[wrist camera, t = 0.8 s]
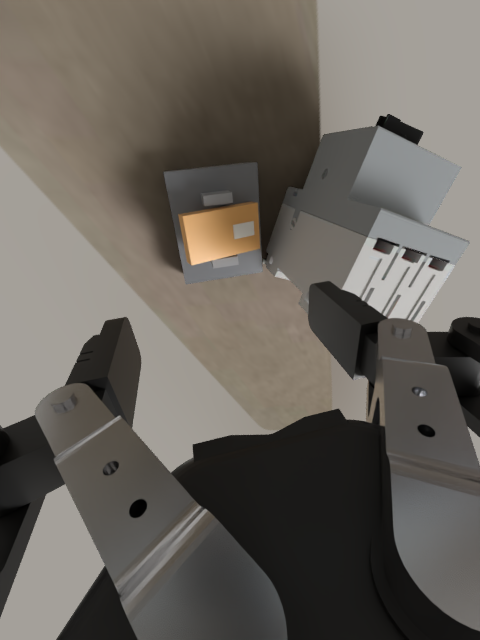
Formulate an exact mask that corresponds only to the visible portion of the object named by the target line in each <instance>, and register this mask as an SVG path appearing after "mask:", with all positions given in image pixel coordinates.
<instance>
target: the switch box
mask: <svg viewBox="0 0 480 640" xmlns="http://www.w3.org/2000/svg"><path fill="white" fill-rule="evenodd" d="M163 173H164V178H165V183H166V188H167V193H168V198H169V203H170V208H171V213H172V218H173V223H174V228H175V233H176V238H177V243H178V248H179V253H180V258H181V263H182V268H183V273H184V278H185V283H186V284H191V283H197V282H203V281H210V280H216V279H222V278H228V277H234V276H241V275H247V274H253V273H259V272H263V269H262V248H261V228H260V207H259V186H258V166H257V162H246V163H236V164H227V165H217V166H208V167H198V168H189V169H179V170H170V171H164V172H163ZM246 202H256V203H258V216H259V235H260V249H256V250H252V251H248V252H244V253H240V254H236V255H232V256H228V257H224V258H220V259H216V260H212V261H208V262H204V263H200V264H196V265H190V264H189V263H188V262H187V259H186V254H185V248H184V243H183V238H182V232H181V227H180V222H179V216H178V214H183V213H189V212H195V211H200V210H206V209H212V208H217V207H223V206H229V205H235V204H240V203H246Z"/></svg>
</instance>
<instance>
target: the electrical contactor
mask: <svg viewBox="0 0 480 640" xmlns="http://www.w3.org/2000/svg"><path fill="white" fill-rule="evenodd" d="M400 121H401V120H400V119H398V118H396V117H394V116H392V115H390V114H388V115H387V117H384V116H380V117H379V120H378V122H377V124H376V126H375V127H372V126H371V127H365V128H359V129H353V130H347V131H342V132H336V133H329V134H324V135H323V137H322V139H321V142H320V145H319V148H318V150H317V153H316V156H315V158H314V161H313V164H312V166H311V169H310V172H309V174H308V177H307V180H306V182H305V185H304V188H303V189H297V188H293V187H288V189H287V192H286V195H285V197H284V200H283V204H282V206H281V209H280V212H279V215H278V218H277V221H276V223H275V226H274V229H273V232H272V235H271V238H270V241H269V244H268V246H267V249H266V252H267V253H268V256H267V259H263V261H262V263H264V264H266V267H267V268H268V270H269V271H270V272H271V273H272V274H273V275H274V276H275V277H279V278H283V279H287V280H290V281H291V282H292V283H293V284H294V285H295V286H296V287H297V288H298V289H299V290H300V291H301V292H302V293H303V294H302V296H301V298H300V301H299V305H300V306H301V307H302V308H303V309H304V310H305V311H306V312H307V314H308V306H309V287H310V285H311V284H313V283H319V282H324V281H331V282H332V283H333V284H334V285H336V286H337V287H338V288H340V289H341V290H345V291H348V292H351V293H354V294H355V295H357V296H358V297H359V298H361V299H362V301H365V302H366V303H368V305H369V306H372V307H373V308H374V309H376V310H377V311H379V312H380V313H381V314H383V315H384V316H385V317H387V318H388V319H389V318H402V319H408V320H411V321H414V322H416V323H418V322H419V320H420V319H421V317H422V316H423V314H424V313H425V311H426V310H427V308H428V307H429V305H430V303H431V302H432V300H433V299H434V297H435V296H436V294H437V293H438V291H439V290H440V288H441V286H442V285H443V283H444V282H445V280H446V279H447V277H448V276H449V274H450V273H451V271H452V269H453V268H454V267H455V266H454V265H456V263H457V262H458V260H459V259H460V257H461V256H462V254H463V253H464V251H465V250H466V248H467V246H468V245H469V241H468V240H465V239H462V238H460V237H457V236H454V235H452V234H449V233H447V232H444V231H441V230H439V229H436V228H433V227H431V226H429V224H430V223H431V220H432V219H433V217H434V215H435V213H436V212H437V210H438V208H439V207H440V205H441V203H442V201H443V199H444V197H445V196H446V194H447V192H448V191H449V189H450V187H451V185H452V183H453V182H454V180H455V178H456V176H457V175H458V173H459V171H460V169H461V167H460V166H458V165H456V164H454V163H452V162H450V161H448V160H446V159H444V158H442V157H440V156H438V155H436V154H434V153H432V152H430V151H428V150H426V149H424V148H422V147H420V146H418V143H419V141H420V139H421V137H422V135H423V131H420V130H418V129H415V128H413V127H411V126H409V125H407V124H405V123H403V122H400ZM285 204H286V205H285ZM288 205H289V206H288ZM387 240H388V241H387ZM390 241H391V242H390ZM395 243H396V244H395ZM406 247H407V248H406ZM409 248H410V249H409ZM411 249H412V250H411ZM414 250H415V251H414ZM417 251H418V252H417ZM419 252H420V253H419ZM430 256H431V257H430ZM433 257H434V258H433ZM438 259H439V260H438ZM441 260H442V261H441ZM446 262H447V263H446ZM449 263H450V264H449ZM452 264H453V265H452Z"/></svg>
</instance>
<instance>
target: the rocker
mask: <svg viewBox="0 0 480 640" xmlns="http://www.w3.org/2000/svg"><path fill="white" fill-rule="evenodd" d="M178 216H179V222H180V227H181V232H182V238H183V243H184V248H185V254H186V259H187V262H188V263H189V264H190V265H196V264H200V263H204V262H208V261H212V260H216V259H220V258H224V257H228V256H232V255H236V254H240V253H244V252H248V251H252V250H256V249H260V235H259V216H258V203H256V202H246V203H240V204H235V205H229V206H223V207H217V208H212V209H206V210H200V211H195V212H189V213H183V214H178Z"/></svg>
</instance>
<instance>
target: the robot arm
mask: <svg viewBox="0 0 480 640" xmlns="http://www.w3.org/2000/svg"><path fill="white" fill-rule="evenodd" d="M308 320H309V325H310V328H311V330H312V331H313V332H314V333H315V335H316V336H317V337H318V338H319V340H320V341H321V342H322V343H323V344H324V346H325V347H326V348H327V349H328V350H329V352H330V353H331V354H332V355H333V356H334V358H335V359H336V360H337V361H338V362H339V364H340V365H341V366H342V367H343V368H344V370H345V371H346V372H347V373H348V374H349V376H350V377H351V378H352V379H353V380H356V379H361V378H365V377H366V378H367V379H368V385H367V404H366V422H365V421H359V420H346V419H345V417H344V416H343V414H342V413H341V411H340V410H339V409H335V410H331V411H327V412H323V413H319V414H315V415H311V416H307V417H304V418H302V419H300V420H298V421H296V422H294V423H292V424H291V425H289V426H287V427H285V428H283V429H281V430H279V431H277V432H275V433H273V434H269V435H230V436H226V437H222V438H218V439H214V440H210V441H206V442H202V443H198V444H193V455H194V457H193V458H192V459H190V460H188V461H186V462H185V463H183V464H182V465H180V466H179V467H177V468H176V469H175V470H174V471H173V472H171V473H170V472H169V471H168V470H167V468H166V467H165V466H164V465H163V464H162V462H161V461H160V460H159V459H158V458H157V457H156V456H155V455H154V453H153V452H152V451H151V450H150V449H149V448H148V447H147V445H146V444H145V443H144V442H143V441H142V440H141V439H140V437H138V435H137V434H136V433H135V432H134V431H133V429H132V424H133V418H134V411H135V404H136V397H137V390H138V383H139V376H140V370H141V356H140V351H139V348H138V345H137V342H136V339H135V336H134V333H133V331H132V328H131V325H130V322H129V320H128V318H127V317H124V318H118V319H112V320H107V321H105V323H104V325H103V328H102V330H101V333H100V335H95V336H93V337H92V338H91V339H90V340H88V341H87V342H86V343H85V344H84V346H83V348H82V350H81V352H80V355H79V357H78V359H77V363H75V365H74V368H73V369H72V372H71V374H70V376H69V378H68V380H67V382H66V384H65V386H63V387H60V388H58V389H56V390H54V391H53V392H51V393H50V394H48V395H47V396H46V397H45V398H43V400H41V401H40V403H39V404H38V406H37V407H36V410H35V415H34V416H32V417H29V418H27V419H25V420H22V421H20V422H18V423H15V424H13V425H10V426H8V427H6V428H2V427H1V426H0V617H1V614H2V611H3V609H4V606H5V603H6V601H7V598H8V595H9V593H10V590H11V587H12V584H13V582H14V579H15V577H16V574H17V571H18V568H19V566H20V563H21V560H22V558H23V555H24V552H25V550H26V547H27V544H28V542H29V539H30V536H31V533H32V531H33V528H34V525H35V523H36V520H37V517H38V515H39V512H40V509H41V507H42V504H43V501H44V499H45V496H46V494H47V493H49V492H51V491H53V490H55V489H57V488H59V487H61V486H62V485H64V484H66V486H67V488H68V490H69V492H70V494H71V496H72V498H73V501H74V503H75V505H76V507H77V509H78V511H79V513H80V515H81V517H82V519H83V521H84V523H85V525H86V527H87V529H88V531H89V533H90V535H91V537H92V539H93V542H94V544H95V545H96V548H97V550H98V551H99V554H100V556H101V558H102V560H103V562H104V564H105V566H104V568H103V570H102V571H101V573H100V574H99V576H98V577H97V579H96V580H95V582H94V583H93V585H92V586H91V588H90V589H89V591H88V592H87V594H86V595H85V597H84V598H83V600H82V602H81V603H80V604H79V606H78V607H77V609H76V610H75V612H74V614H73V615H72V616H71V618H70V620H69V621H68V623H67V624H66V626H65V627H64V629H63V630H62V632H61V633H60V635H59V636H58V638H57V639H56V640H480V465H479V461H478V458H477V456H476V452H475V449H474V446H473V443H472V440H471V437H470V434H469V431H468V427H469V428H470V429H471V430H472V431H473V432H475V433H476V434H477V435H478V436H479V437H480V318H474V317H462V318H457V319H455V320H453V322H452V324H451V327H450V329H449V332H427V331H426V329H425V328H424V327H423V326H422V325H420V324H418V323H416V322H414V321H411V320H408V319H402V318H389V319H388V318H387V317H385V316H384V315H383V314H381V313H380V312H379V311H377V310H376V309H374V308H373V307H372V306H369V305H368V303H366V302H365V301H362V299H361V298H359V297H358V296H357V295H355V294H354V293H351V292H348V291H345V290H341V289H340V288H338V287H337V286H336V285H334V284H333V283H332V282H331V281H324V282H319V283H313V284H311V285H310V287H309V306H308ZM467 426H468V427H467Z"/></svg>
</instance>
